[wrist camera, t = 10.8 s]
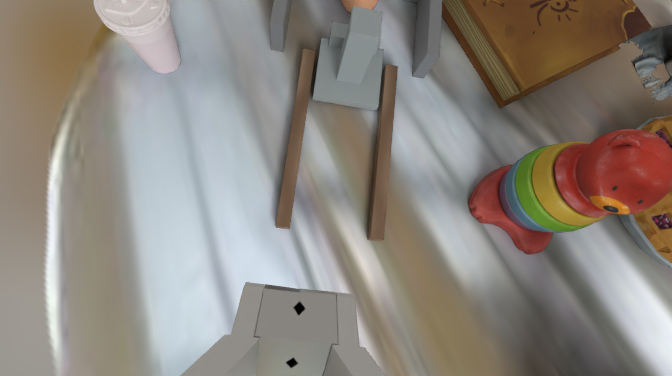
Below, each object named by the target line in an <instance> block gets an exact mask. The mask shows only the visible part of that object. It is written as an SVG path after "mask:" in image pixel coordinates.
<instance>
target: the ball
mask: <svg viewBox="0 0 672 376" xmlns="http://www.w3.org/2000/svg"><path fill="white" fill-rule="evenodd" d="M341 1H342V4H343V6H344V7H345V9H346V10H347V11H348V12H350V13H351V12H352V8H353V6H356V7H361V8H366V9H370V10H372V9H373V8H374V7H375V6H376V4H377V2H378V0H341Z"/></svg>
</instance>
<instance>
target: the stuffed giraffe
mask: <svg viewBox="0 0 672 376" xmlns="http://www.w3.org/2000/svg"><path fill="white" fill-rule="evenodd" d="M630 41H633V42H634V43H636V44H635V45H637V44H638V43H639V47H638V48H639V49H641V50H642V49H643V54H644V55H643V54H642V55H641V56H639V57H636V59H635V60H634V61H631V62H633V63H635V69H636V71H637V74H638V75H639V76H640V77H641V78H644V76H647V77H648V76H649V77H650V78H649V79H646V78H645V79H646V80H647V81H645V80H643V82H642V83H643V85H645V88H646V86H648V87H650V86H651V85H653V86H654V87H652V88H653V89H654V90H653V91H651V93H652V94H654V95H651V96H652V97H654V98H656V100H655V101H657V99H659V100H663V99H666V97H668V95H669V94H670V97H671V96H672V25H670V26H665V27H661V28H656V29H653V30H647V31H646V32H644V33H642V34H640V35H638V36H636V37H633V38H631V39H629V40H628V43H629V42H630ZM623 43H627V41H625V42H623ZM663 61H664V64H665V68H666V70H667V72H668V74H669V75H670V78H669V80H668V81H666V82H665V83H664V82H663V83H661V85H659V86H656V85H657V84H656V85H654V84H655V83H656V82H660V81H661V80H662V79H654V78H651V76H650V75H651V74H652V70H653V69H655V70H656V66H655V65H656V64H660V63H663ZM655 70H654V71H655ZM653 77H654V76H653ZM641 78H640V79H641ZM655 78H656V77H655ZM659 84H660V83H659ZM647 89H648V88H647ZM645 90H646V89H645ZM654 98H653V100H654ZM653 106H654V103H653Z"/></svg>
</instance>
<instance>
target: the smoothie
mask: <svg viewBox="0 0 672 376" xmlns="http://www.w3.org/2000/svg"><path fill="white" fill-rule="evenodd" d="M94 7H95V10H96V12H97V14H98V15H99V16H100V18H101V20H102V22H103V23H104V24H105V25H106V26H107V27H108V28H110V29H111V30H113V31H114V32H117V33H118V34H119V35H120V36H121V37H122V38H123V39H124V40H125V41H126V43H127V44H128V45H129V46H130V47H131V48H132V49H133V50H134V51H135V52H136V53H137V54H138V55H139V56H140V57H141V58H142V59H143V60H144V61H145V62H146V64H147V65H148V66H149V67H150V68H151V69H152V70H154V71H155V72H157V73H161V74H167V73H171V72H173V71H175V70H176V69H177V68H178V67H179V65H180V62H181V57H180V53H179V50H178V46H177V42H176V38H175V34H174V30H173V26H172V22H171V19H170V14H169V12H170V2H169V0H94Z"/></svg>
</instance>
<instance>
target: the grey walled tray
mask: <svg viewBox="0 0 672 376" xmlns="http://www.w3.org/2000/svg"><path fill="white" fill-rule="evenodd" d="M405 1H410V2H414V3H417V16H416V31H415V45H414V60H413V75H412V76H414V77H419V78H424V77H425V75H426V74H427V73H428V71H429V70H430V68H431V67H432V66H433V64H434V63H435V62H436V60H437V59H438V57H439V56H440V36H441V15H442V0H405ZM291 3H292V0H274V2H273V8H272V13H271V18H270V37H271V50H276V51H281V52H283V50H284V44H285V38H286V32H287V26H288V21H289V15H290V9H291Z"/></svg>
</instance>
